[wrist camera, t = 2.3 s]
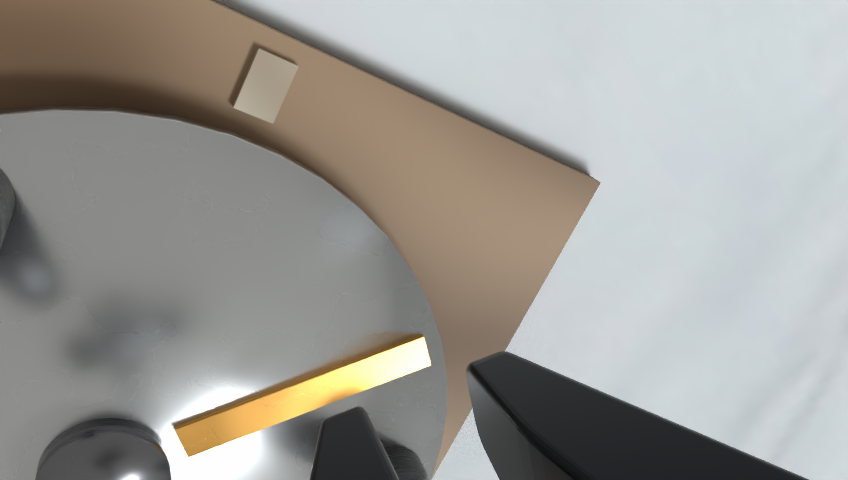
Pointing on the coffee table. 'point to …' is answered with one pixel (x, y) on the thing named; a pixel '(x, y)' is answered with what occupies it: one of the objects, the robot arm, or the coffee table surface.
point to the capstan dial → (195, 307)
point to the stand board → (324, 146)
